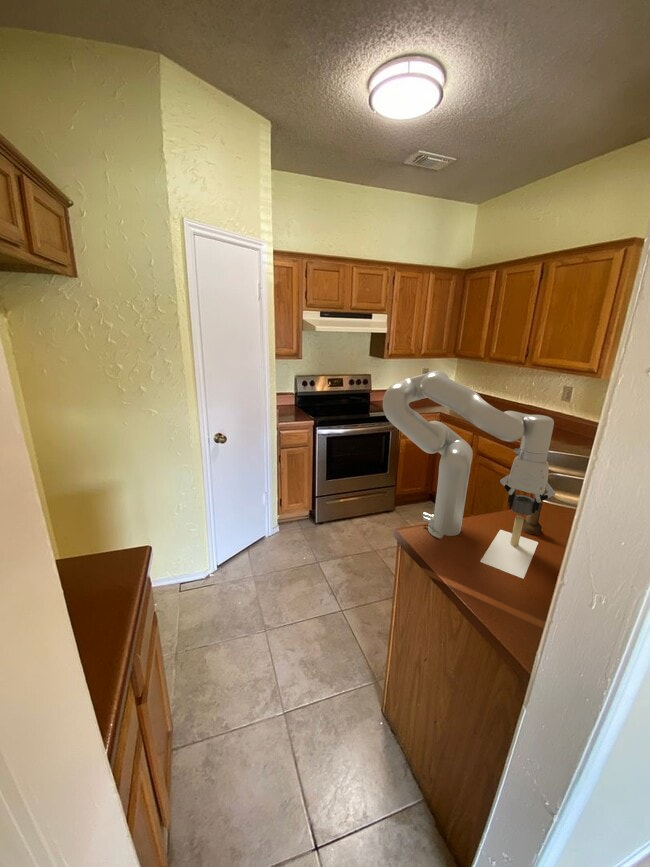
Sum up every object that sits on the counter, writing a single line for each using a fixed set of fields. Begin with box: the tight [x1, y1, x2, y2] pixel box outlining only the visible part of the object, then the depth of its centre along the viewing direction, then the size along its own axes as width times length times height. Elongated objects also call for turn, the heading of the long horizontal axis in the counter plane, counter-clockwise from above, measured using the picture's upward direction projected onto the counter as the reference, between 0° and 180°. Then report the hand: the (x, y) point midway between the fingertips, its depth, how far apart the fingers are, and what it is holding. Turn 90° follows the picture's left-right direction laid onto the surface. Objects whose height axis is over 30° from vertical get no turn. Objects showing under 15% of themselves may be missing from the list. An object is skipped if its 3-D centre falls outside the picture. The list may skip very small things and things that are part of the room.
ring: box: [510, 494, 535, 516], centre depth 115 cm, size 6×6×4 cm
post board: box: [480, 515, 539, 579], centre depth 114 cm, size 12×24×12 cm, turn 141°
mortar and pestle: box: [521, 494, 543, 536], centre depth 129 cm, size 7×6×18 cm
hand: (522, 508), depth 115 cm, fingers closed on ring, 6 cm apart
